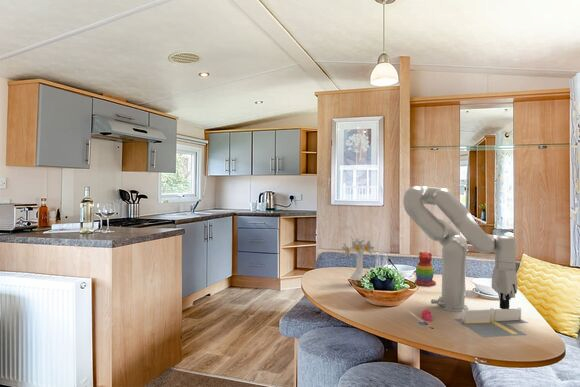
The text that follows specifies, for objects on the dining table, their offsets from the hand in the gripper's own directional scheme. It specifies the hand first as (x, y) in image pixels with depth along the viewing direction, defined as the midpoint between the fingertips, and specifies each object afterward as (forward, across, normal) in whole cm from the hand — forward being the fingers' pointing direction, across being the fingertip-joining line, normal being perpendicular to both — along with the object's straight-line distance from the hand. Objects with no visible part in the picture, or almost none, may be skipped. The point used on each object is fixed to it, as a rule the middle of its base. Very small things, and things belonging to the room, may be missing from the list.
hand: (504, 308), depth 160 cm
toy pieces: (+4, +4, -35) cm, 36 cm away
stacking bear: (+3, -52, -8) cm, 53 cm away
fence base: (+4, +11, -10) cm, 15 cm away
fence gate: (+3, +6, -3) cm, 7 cm away
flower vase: (+2, -52, -46) cm, 70 cm away
